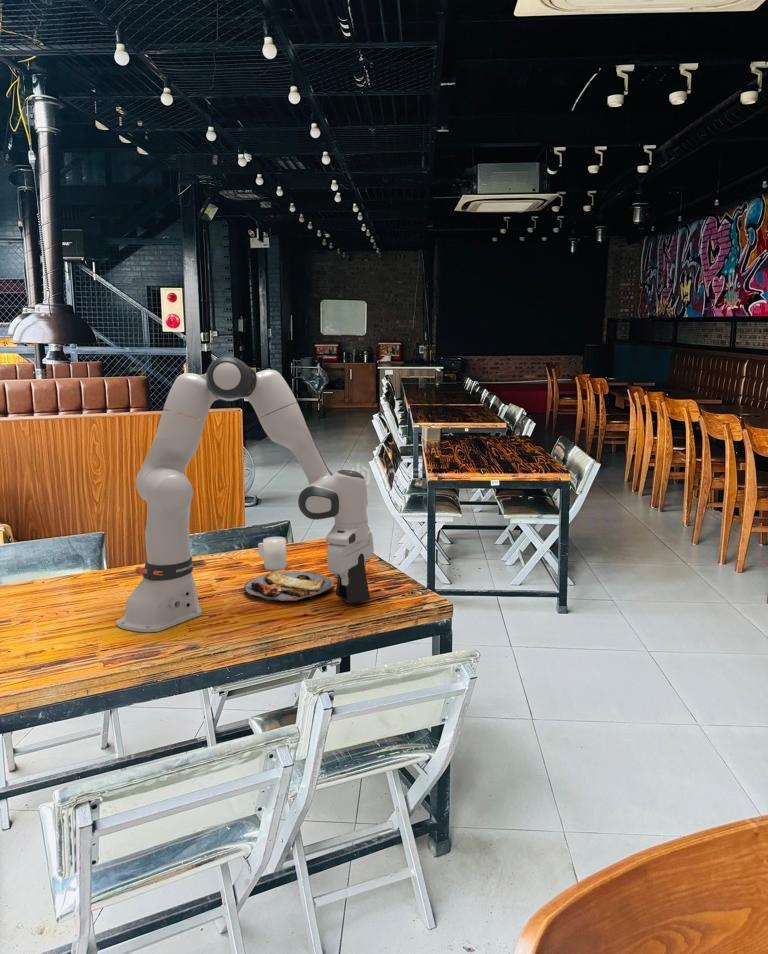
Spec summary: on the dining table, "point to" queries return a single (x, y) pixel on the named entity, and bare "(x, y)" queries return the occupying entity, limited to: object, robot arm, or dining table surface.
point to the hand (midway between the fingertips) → (352, 580)
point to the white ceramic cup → (273, 553)
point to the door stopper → (354, 584)
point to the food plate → (288, 585)
